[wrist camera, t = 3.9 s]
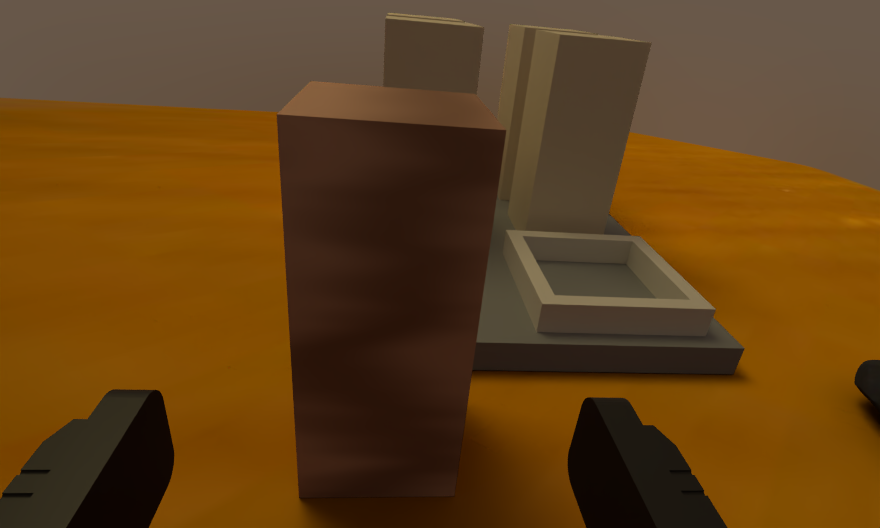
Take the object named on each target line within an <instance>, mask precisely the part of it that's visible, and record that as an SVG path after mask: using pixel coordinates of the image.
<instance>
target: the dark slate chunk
mask: <svg viewBox="0 0 880 528" xmlns="http://www.w3.org/2000/svg"><path fill="white" fill-rule="evenodd" d="M855 385H856V386H857V387H858V389H859V390H860V391H861V392H862V394H863V395H864V396H865V397H867V398H868V399H869V400H870V401H871V403H872V404H873V405H874V407H875V408H876V409H877V410H878V412H879V413H880V360H868V361H865V362H863V363H862V364H861V365H860V367H859V368H858V370H857V372H856V376H855Z"/></svg>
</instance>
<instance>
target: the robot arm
mask: <svg viewBox="0 0 880 528" xmlns="http://www.w3.org/2000/svg"><path fill="white" fill-rule="evenodd" d="M173 465H174V449H173V444H172V439H171V434H170V429H169V424H168V419H167V415H166V410H165V405H164V400H163V396H162V394H161V393H160V392H159V391H158V390H111V391H109V392H108V393H107V394H106V395H105V396H104V397H103V399H102V400H101V401H100V403H99V404H98V406H97V407H96V408H95V410H94V411H93V412H92V414H91V415H90V416H89V418H88V419H73V420H72V421H71V422H69V423H68V424H67V425H65V426H64V427H63V428H61V429H60V430H59V431H57V432H56V433H55V434H53V435H52V436H50V437H49V438H48V439H46V440H45V441H44V442H42V444H41V445H40V446H39V448H38V449H37V450H36V451H35V453H34V454H33V455H32V456H31V458H30V459H29V460H28V461H27V463H26V464H25V465H24V466H23V468H22V469H21V473H20V475H16V477H15V478H14V479H13V480H12V482H11V483H10V484H9V485H8V487H7V488H6V489H5V490H4V492H3V493H2V494H3V495H2V498H1V499H0V528H149V526H150V523H151V521H152V519H153V517H154V515H155V513H156V511H157V508H158V506H159V504H160V502H161V500H162V498H163V496H164V493H165V491H166V489H167V487H168V484H169V482H170V479H171V475H172V471H173ZM568 473H569V479H570V483H571V486H572V489H573V492H574V495H575V498H576V500H577V503H578V506H579V509H580V511H581V514H582V517H583V520H584V522H585V525H586V528H727V526H726V525H725V523H724V521H723V520H722V518H721V517H720V515H719V513H718V512H717V510H716V509H715V507H714V506H713V504H712V502H711V501H710V499H709V498H708V496H705V495H704V490H703V488H702V486H701V485H700V483H699V482H698V480H697V478H696V477H695V475H692V474H691V469H690V467H689V466H688V464H687V462H686V461H685V459H684V458H683V456H682V454H681V453H680V451H679V450H678V448H677V446H676V445H675V444H673V443H672V442H671V441H670V440H669V439H668V438H667V437H666V436H665V435H663V434H662V433H661V432H660V431H659V430H658V429H657V428H656V427H655V426H653V425H643V424H642V423H641V421H640V419H639V418H638V416H637V414H636V412H635V411H634V409H633V407H632V405H631V404H630V402H629V401H628V400H626V399H625V398H586V399H585V400H584V401H583V404H582V406H581V410H580V414H579V417H578V421H577V424H576V428H575V431H574V435H573V439H572V442H571V446H570V449H569V454H568Z"/></svg>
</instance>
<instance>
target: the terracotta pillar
mask: <svg viewBox="0 0 880 528" xmlns="http://www.w3.org/2000/svg"><path fill="white" fill-rule="evenodd" d="M277 125H278V143H279V160H280V177H281V194H282V211H283V228H284V246H285V263H286V280H287V297H288V314H289V332H290V349H291V366H292V383H293V400H294V418H295V435H296V452H297V469H298V486H299V498H342V497H433V496H454V495H455V488H456V481H457V474H458V467H459V460H460V453H461V446H462V439H463V432H464V425H465V418H466V411H467V404H468V397H469V390H470V383H471V376H472V369H473V362H474V355H475V348H476V341H477V334H478V327H479V320H480V313H481V305H482V298H483V291H484V284H485V277H486V270H487V263H488V256H489V249H490V242H491V235H492V228H493V221H494V214H495V207H496V200H497V193H498V186H499V179H500V172H501V165H502V158H503V151H504V144H505V137H506V129H505V128H504V127H503V125H502V124H501V123H500V122H499V121H498V120H497V119H496V117H494V115H493V114H492V113H491V112H490V110H489V109H488V108H487V107H486V106H485V105H484V104H483V103H482V101H481V100H480V99H479V98H478V97H477V95H476V94H471V93H458V92H445V91H432V90H419V89H406V88H393V87H380V86H366V85H353V84H340V83H327V82H314V81H310V82H309V83H308V84H307V85H306V86H305V87H304V88H303V89H302V90H301V91H300V92H299V93H298V94H297V95H296V96H295V97H294V98H293V99H292V100H291V101H290V102H289V103H288V104H287V105H286V106H285V107H284V108H283V109H282V110H281V111H280V112H279V113H278V114H277Z"/></svg>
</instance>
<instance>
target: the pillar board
mask: <svg viewBox="0 0 880 528" xmlns="http://www.w3.org/2000/svg"><path fill="white" fill-rule="evenodd" d="M483 34H484V27H481V26H478V25H475V24H471V23H465V22H464V21H461V20H458V19H450V18H439V17H429V16H417V15H407V14H396V13H388V14H387V17H386V23H385V52H384V81H383V87H393V88H406V89H419V90H432V91H445V92H458V93H471V94H476V95H477V87H478V77H479V68H480V60H481V51H482V43H483ZM650 47H651V43H650V42H644V41H638V40H632V39H625V38H619V37H612V36H601V35H598V34H595V33H589V32H583V31H577V30H568V29H557V28H547V27H535V26H525V25H513V24H510V26H509V34H508V41H507V49H506V56H505V64H504V71H503V78H502V86H501V94H500V101H499V108H498V116H497V120H498V121H499V122H500V123H501V124H502V125H503V127H504V128H505V129H506V137H505V144H504V151H503V158H502V165H501V172H500V179H499V186H498V193H497V200H496V207H495V214H494V221H493V228H492V235H491V242H490V249H489V256H488V263H487V270H486V277H485V284H484V291H483V298H482V305H481V313H480V320H479V327H478V334H477V341H476V348H475V355H474V362H473V369H472V370H506V371H565V372H624V373H683V374H734V372H735V369H736V367H737V365H738V362H739V360H740V358H741V356H742V353H743V351H744V349H745V348H744V347H743V346H742V345H740V344H739V343H738V342H737V341H736V340H735V339H734V338H733V337H732V336H731V335H730V334H729V333H728V332H727V331H726V330H725V329H724V328H723V327H722V326H721V325H720V324H719V323H718V322H717V321H716V320H715V319H714V318H713V316H714V313H715V310H716V309H715V308H714V307H713V306H712V305H711V304H710V303H709V302H708V301H707V300H706V299H705V298H703V297H702V296H701V295H700V294H699V293H698V292H697V291H696V290H695V289H694V288H693V287H692V286H691V285H690V284H689V283H688V282H687V281H686V280H685V279H684V278H683V277H682V276H681V275H680V274H678V273H677V272H676V271H675V270H674V269H673V268H672V267H671V266H670V265H669V264H668V263H667V262H666V261H665V260H664V259H663V258H662V257H661V256H660V255H659V254H658V253H657V252H656V251H655V250H653V249H652V248H651V247H650V246H649V245H648V244H647V243H646V242H645V241H644V240H643V239H642V238H641V237H640V236H631V235H630V234H629V233H628V232H627V231H626V230H625V229H624V228H623V227H622V226H621V225H620V224H619V223H618V222H617V221H616V220H615V219H614V218H613V217H612V216H611V215H610V214H609V210H610V206H611V202H612V198H613V194H614V191H615V187H616V183H617V179H618V175H619V171H620V167H621V163H622V159H623V155H624V151H625V147H626V143H627V139H628V135H629V131H630V127H631V122H632V119H633V114H634V111H635V107H636V103H637V99H638V95H639V91H640V87H641V83H642V79H643V75H644V71H645V67H646V63H647V59H648V55H649V51H650Z"/></svg>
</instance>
